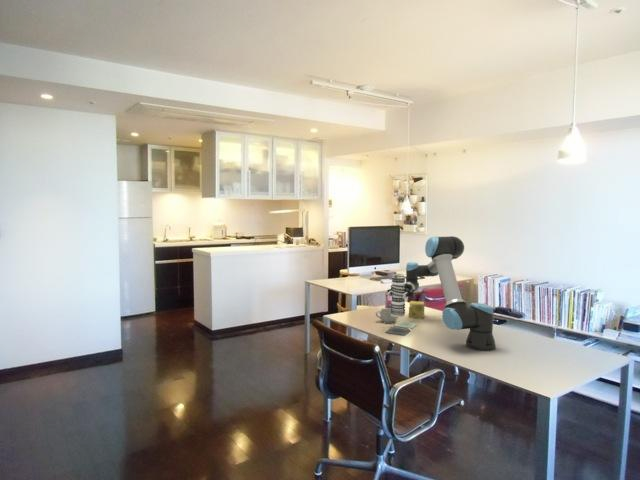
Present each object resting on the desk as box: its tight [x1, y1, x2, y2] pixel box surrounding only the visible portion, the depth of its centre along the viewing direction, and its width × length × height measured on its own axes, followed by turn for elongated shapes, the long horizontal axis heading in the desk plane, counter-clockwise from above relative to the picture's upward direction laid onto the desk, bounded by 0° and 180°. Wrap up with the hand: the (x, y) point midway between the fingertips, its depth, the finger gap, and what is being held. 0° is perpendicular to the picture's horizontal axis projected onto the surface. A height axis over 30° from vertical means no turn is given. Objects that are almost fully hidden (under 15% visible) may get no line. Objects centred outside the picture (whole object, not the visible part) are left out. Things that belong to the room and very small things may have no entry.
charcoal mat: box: [384, 326, 411, 337], centre depth 260 cm, size 12×12×1 cm
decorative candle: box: [390, 273, 406, 318], centre depth 259 cm, size 9×9×25 cm
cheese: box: [407, 300, 425, 320], centre depth 296 cm, size 10×11×10 cm
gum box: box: [384, 292, 398, 319], centre depth 302 cm, size 24×8×14 cm, turn 172°
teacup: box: [375, 307, 397, 324], centre depth 282 cm, size 14×11×8 cm
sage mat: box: [393, 320, 419, 330], centre depth 274 cm, size 12×12×1 cm
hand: (395, 295), depth 255 cm, fingers closed on decorative candle, 9 cm apart
